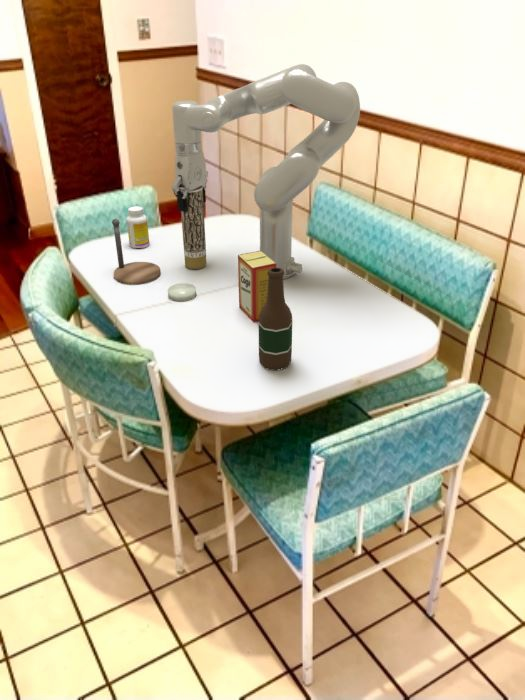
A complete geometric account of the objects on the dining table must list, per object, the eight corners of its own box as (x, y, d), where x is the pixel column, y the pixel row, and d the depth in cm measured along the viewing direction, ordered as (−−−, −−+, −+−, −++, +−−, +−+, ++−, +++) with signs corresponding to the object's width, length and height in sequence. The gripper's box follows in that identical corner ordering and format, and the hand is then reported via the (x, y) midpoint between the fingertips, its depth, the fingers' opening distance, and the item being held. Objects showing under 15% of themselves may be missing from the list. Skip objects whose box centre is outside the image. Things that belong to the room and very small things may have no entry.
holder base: (169, 270, 197) (165, 218, 188) (141, 288, 186) (135, 234, 177) (133, 262, 202) (127, 211, 194) (104, 278, 192) (96, 225, 183)
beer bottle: (290, 353, 155) (292, 262, 143) (292, 370, 148) (294, 277, 136) (258, 353, 155) (257, 262, 142) (259, 371, 148) (258, 277, 136)
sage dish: (201, 292, 184) (201, 286, 183) (185, 303, 178) (185, 297, 177) (178, 286, 187) (178, 281, 186) (162, 297, 181) (162, 291, 180)
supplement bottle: (153, 244, 215) (150, 207, 208) (140, 250, 210) (136, 213, 204) (138, 240, 218) (134, 203, 211) (125, 246, 213) (120, 209, 207)
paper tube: (182, 263, 201) (176, 185, 188) (202, 259, 204) (197, 182, 191) (189, 271, 196) (183, 192, 183) (209, 267, 198) (205, 188, 185)
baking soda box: (275, 317, 171) (276, 262, 162) (253, 322, 168) (252, 266, 160) (260, 302, 178) (260, 249, 170) (239, 307, 176) (237, 253, 167)
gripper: (181, 156, 173) (186, 217, 182) (215, 142, 186) (218, 200, 195) (159, 152, 176) (164, 213, 185) (194, 139, 189) (197, 196, 198)
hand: (192, 206), depth 190 cm, fingers open, 9 cm apart
